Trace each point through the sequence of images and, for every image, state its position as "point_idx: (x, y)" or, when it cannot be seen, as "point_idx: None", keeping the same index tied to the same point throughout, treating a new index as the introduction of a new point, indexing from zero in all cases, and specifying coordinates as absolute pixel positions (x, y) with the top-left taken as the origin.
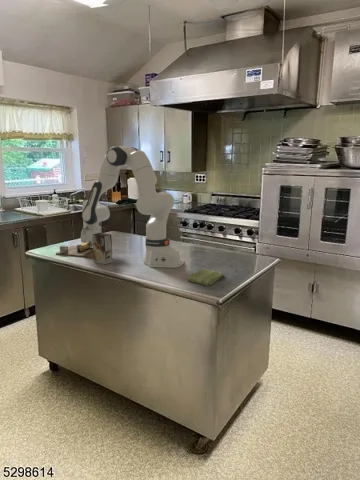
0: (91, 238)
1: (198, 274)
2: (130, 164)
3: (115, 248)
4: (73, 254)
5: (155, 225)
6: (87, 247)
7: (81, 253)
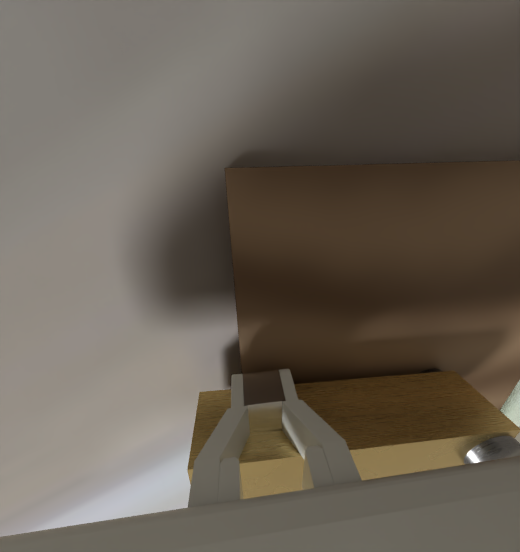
0: (444, 545)
1: None
2: None
3: (18, 21)
4: (517, 373)
5: None
6: (334, 390)
7: (493, 335)
